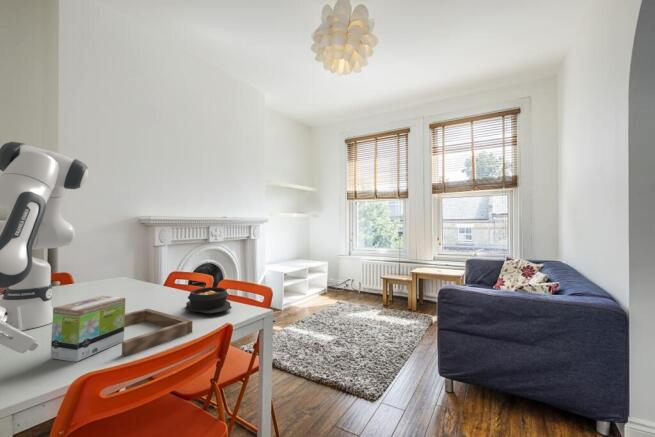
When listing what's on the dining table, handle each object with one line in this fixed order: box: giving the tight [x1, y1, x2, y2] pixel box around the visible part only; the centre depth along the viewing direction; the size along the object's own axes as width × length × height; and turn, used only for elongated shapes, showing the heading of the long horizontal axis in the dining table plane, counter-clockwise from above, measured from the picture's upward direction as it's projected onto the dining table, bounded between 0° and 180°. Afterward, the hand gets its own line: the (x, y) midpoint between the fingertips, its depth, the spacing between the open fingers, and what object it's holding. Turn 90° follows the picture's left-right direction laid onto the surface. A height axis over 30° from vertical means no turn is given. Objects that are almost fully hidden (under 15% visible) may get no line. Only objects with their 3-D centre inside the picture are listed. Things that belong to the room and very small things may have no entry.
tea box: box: [50, 295, 126, 363], centre depth 90 cm, size 15×10×15 cm, turn 168°
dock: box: [121, 308, 194, 358], centre depth 102 cm, size 22×28×4 cm
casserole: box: [185, 286, 233, 314], centre depth 132 cm, size 25×19×8 cm
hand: (33, 347), depth 79 cm, fingers closed
